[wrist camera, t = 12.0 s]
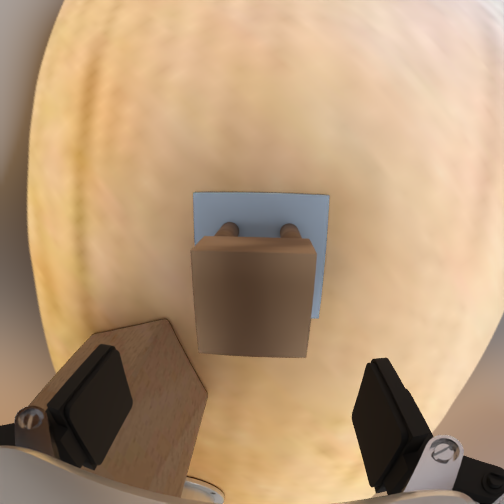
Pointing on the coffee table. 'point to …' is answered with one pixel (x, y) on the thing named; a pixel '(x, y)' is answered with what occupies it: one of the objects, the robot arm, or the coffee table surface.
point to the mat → (267, 220)
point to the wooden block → (147, 407)
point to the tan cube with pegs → (253, 293)
